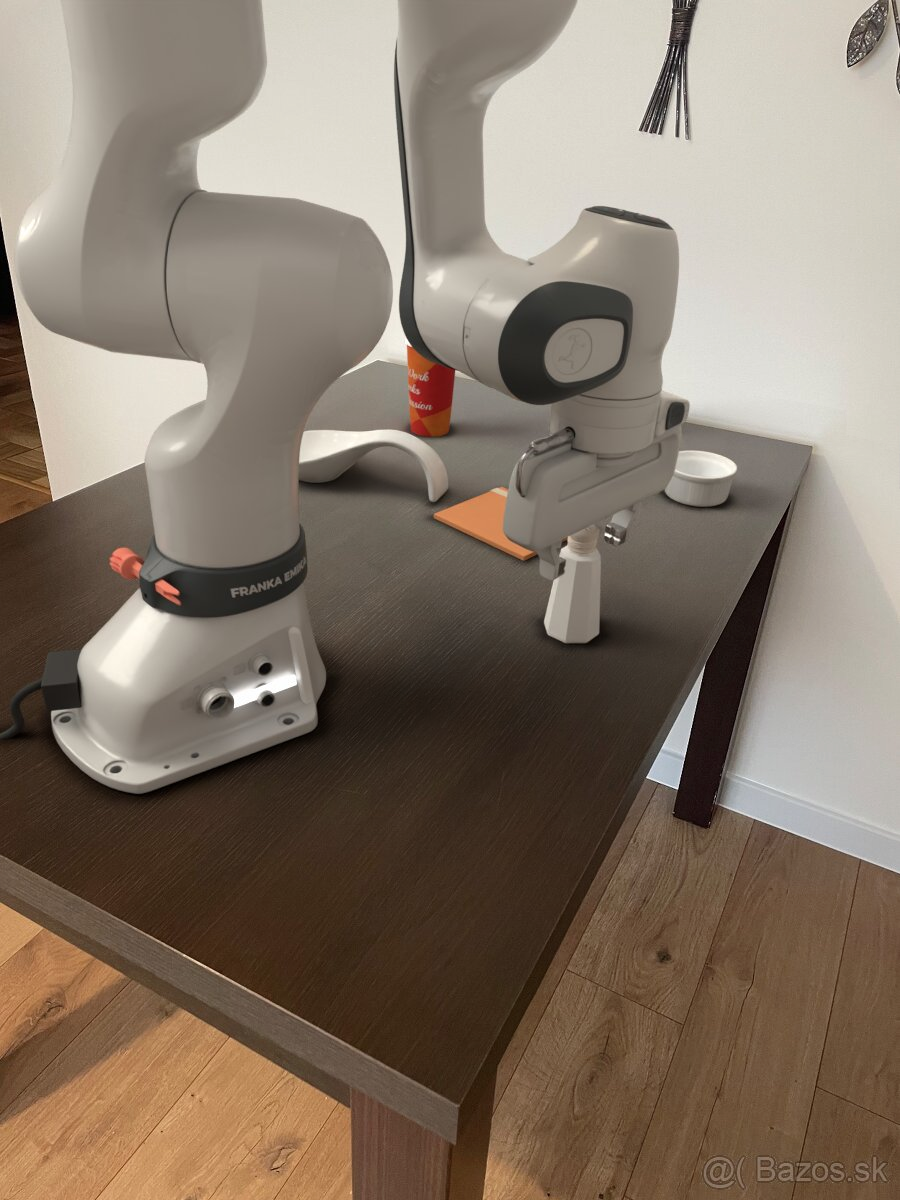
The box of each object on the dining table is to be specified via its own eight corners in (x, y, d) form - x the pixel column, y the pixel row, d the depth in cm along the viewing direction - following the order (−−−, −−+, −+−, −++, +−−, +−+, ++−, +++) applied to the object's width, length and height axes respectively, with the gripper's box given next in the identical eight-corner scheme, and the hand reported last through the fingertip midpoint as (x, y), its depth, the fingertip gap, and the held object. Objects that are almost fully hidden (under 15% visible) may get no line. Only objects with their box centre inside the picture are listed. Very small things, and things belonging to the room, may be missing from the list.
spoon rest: (249, 482, 115) (245, 427, 111) (294, 450, 125) (291, 399, 121) (426, 516, 109) (428, 460, 105) (459, 480, 118) (461, 426, 114)
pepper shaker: (537, 637, 87) (548, 534, 82) (550, 609, 92) (561, 509, 86) (593, 649, 86) (608, 545, 80) (603, 620, 90) (618, 519, 85)
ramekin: (698, 515, 112) (705, 482, 110) (645, 490, 118) (650, 458, 116) (745, 499, 116) (752, 468, 114) (691, 475, 122) (697, 445, 120)
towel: (523, 561, 100) (524, 555, 100) (433, 518, 108) (433, 512, 108) (590, 528, 108) (591, 523, 107) (501, 490, 116) (501, 485, 116)
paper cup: (397, 422, 135) (398, 326, 128) (447, 418, 137) (450, 324, 130) (411, 441, 129) (413, 341, 122) (463, 437, 131) (468, 339, 124)
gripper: (551, 459, 69) (536, 613, 76) (701, 399, 81) (675, 536, 89) (490, 434, 73) (481, 583, 80) (642, 380, 85) (622, 514, 92)
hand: (584, 558), depth 85 cm, fingers open, 8 cm apart
